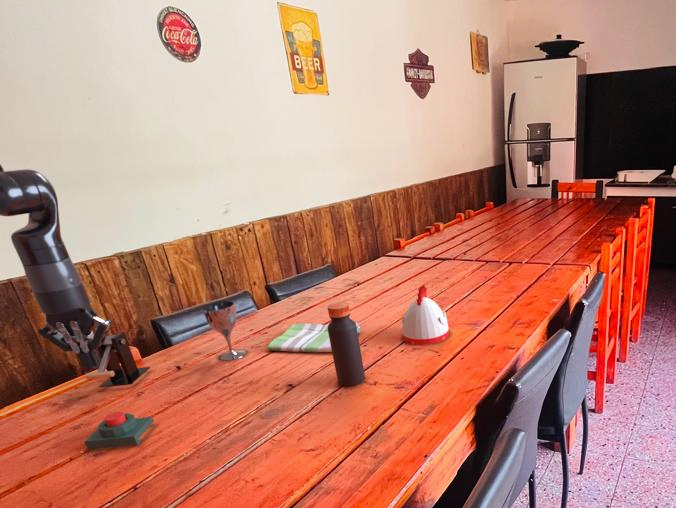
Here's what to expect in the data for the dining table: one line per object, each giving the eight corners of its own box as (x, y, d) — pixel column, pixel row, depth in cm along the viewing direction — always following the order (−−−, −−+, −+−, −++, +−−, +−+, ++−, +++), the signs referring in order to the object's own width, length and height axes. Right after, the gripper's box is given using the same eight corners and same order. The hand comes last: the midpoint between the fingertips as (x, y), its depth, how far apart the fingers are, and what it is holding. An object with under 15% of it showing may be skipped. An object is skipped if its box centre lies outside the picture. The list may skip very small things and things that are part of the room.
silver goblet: (252, 353, 148) (238, 304, 141) (224, 363, 143) (209, 312, 136) (240, 347, 153) (226, 299, 146) (213, 356, 148) (198, 307, 141)
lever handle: (114, 378, 127) (109, 373, 125) (89, 381, 126) (83, 375, 124) (127, 339, 133) (122, 334, 131) (103, 342, 133) (98, 336, 131)
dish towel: (340, 354, 144) (338, 342, 143) (266, 352, 148) (263, 341, 147) (363, 331, 159) (361, 320, 158) (295, 330, 163) (292, 319, 162)
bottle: (351, 372, 133) (337, 299, 124) (371, 377, 130) (358, 302, 121) (332, 383, 128) (316, 308, 119) (352, 389, 125) (338, 312, 116)
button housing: (87, 450, 106) (80, 434, 105) (108, 429, 113) (102, 414, 112) (137, 445, 107) (131, 429, 105) (155, 425, 114) (149, 409, 112)
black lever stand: (133, 387, 132) (114, 342, 126) (100, 390, 131) (80, 345, 126) (151, 370, 141) (135, 327, 135) (121, 373, 140) (103, 330, 135)
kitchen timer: (453, 327, 158) (449, 280, 152) (442, 345, 146) (438, 294, 140) (410, 326, 161) (404, 280, 154) (396, 344, 149) (389, 294, 142)
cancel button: (103, 428, 107) (100, 421, 106) (112, 419, 110) (109, 412, 109) (121, 426, 107) (118, 419, 106) (129, 417, 110) (127, 410, 110)
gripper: (105, 276, 99) (136, 357, 107) (33, 282, 98) (70, 363, 106) (82, 287, 92) (117, 372, 100) (5, 293, 91) (46, 379, 99)
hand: (93, 367), depth 103 cm, fingers closed
